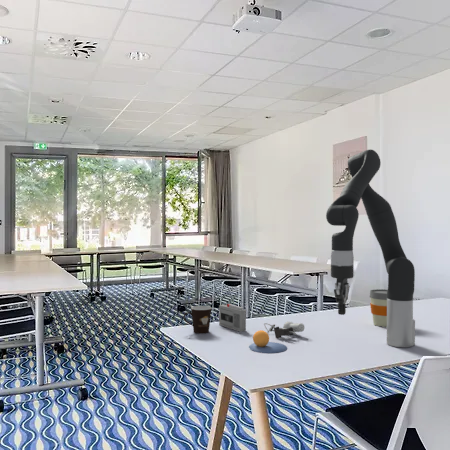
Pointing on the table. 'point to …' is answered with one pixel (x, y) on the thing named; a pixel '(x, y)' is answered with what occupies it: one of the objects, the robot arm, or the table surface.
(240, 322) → the cassette player
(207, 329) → the coffee mug
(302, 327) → the clip-on lamp
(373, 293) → the reusable coffee cup
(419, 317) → the table surface
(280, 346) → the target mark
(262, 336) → the ball
